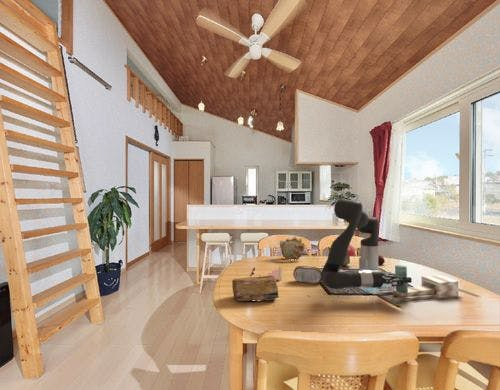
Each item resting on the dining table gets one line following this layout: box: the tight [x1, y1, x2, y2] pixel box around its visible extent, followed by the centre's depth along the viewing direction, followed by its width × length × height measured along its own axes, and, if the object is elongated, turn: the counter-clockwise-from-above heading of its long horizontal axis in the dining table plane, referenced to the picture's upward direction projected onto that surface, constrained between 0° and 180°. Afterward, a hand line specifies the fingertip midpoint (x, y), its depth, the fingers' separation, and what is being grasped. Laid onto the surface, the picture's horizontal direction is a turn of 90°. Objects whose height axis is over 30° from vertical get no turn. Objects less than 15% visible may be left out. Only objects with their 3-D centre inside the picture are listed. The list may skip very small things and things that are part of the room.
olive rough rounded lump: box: [279, 236, 307, 261], centre depth 191 cm, size 18×18×15 cm
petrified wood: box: [231, 276, 279, 302], centre depth 118 cm, size 19×13×10 cm
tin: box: [293, 265, 322, 285], centre depth 139 cm, size 15×3×8 cm, turn 71°
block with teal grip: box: [392, 264, 434, 298], centre depth 116 cm, size 16×5×13 cm, turn 101°
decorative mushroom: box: [342, 243, 356, 267], centre depth 174 cm, size 13×13×15 cm
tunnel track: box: [376, 274, 482, 309], centre depth 117 cm, size 42×13×8 cm, turn 101°
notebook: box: [267, 266, 282, 281], centre depth 156 cm, size 27×17×2 cm, turn 173°
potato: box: [378, 254, 385, 266], centre depth 178 cm, size 7×8×6 cm
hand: (407, 278), depth 115 cm, fingers closed on block with teal grip, 4 cm apart
